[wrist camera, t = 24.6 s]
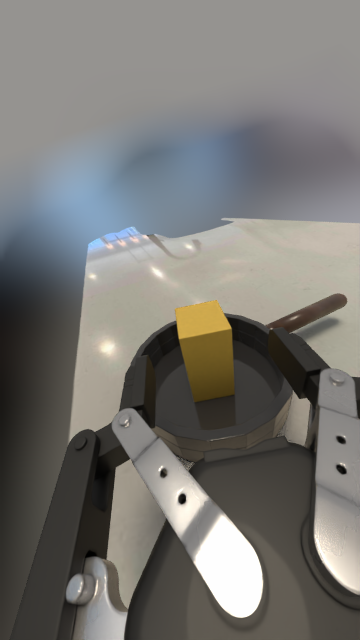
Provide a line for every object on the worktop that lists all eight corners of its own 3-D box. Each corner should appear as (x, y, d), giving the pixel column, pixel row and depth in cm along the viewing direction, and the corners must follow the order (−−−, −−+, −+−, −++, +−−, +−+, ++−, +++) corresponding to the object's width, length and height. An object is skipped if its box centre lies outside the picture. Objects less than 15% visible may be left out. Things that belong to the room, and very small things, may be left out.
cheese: (235, 394, 21) (231, 328, 16) (194, 402, 21) (178, 339, 16) (222, 360, 25) (216, 299, 20) (188, 367, 25) (174, 308, 20)
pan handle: (270, 346, 23) (271, 333, 22) (258, 337, 25) (258, 324, 24) (348, 307, 26) (353, 294, 25) (333, 302, 28) (336, 289, 26)
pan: (169, 509, 15) (154, 489, 12) (129, 366, 28) (118, 343, 26) (329, 407, 19) (342, 376, 16) (227, 324, 32) (226, 300, 29)
